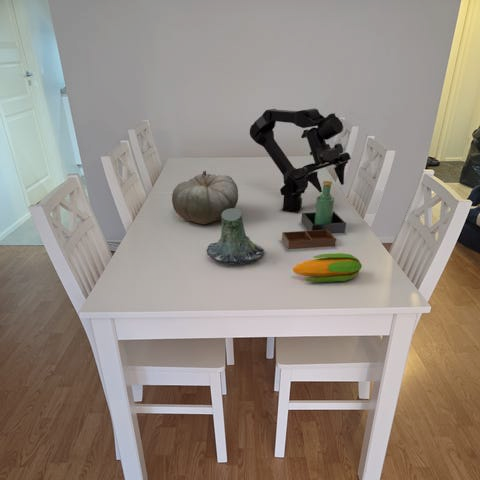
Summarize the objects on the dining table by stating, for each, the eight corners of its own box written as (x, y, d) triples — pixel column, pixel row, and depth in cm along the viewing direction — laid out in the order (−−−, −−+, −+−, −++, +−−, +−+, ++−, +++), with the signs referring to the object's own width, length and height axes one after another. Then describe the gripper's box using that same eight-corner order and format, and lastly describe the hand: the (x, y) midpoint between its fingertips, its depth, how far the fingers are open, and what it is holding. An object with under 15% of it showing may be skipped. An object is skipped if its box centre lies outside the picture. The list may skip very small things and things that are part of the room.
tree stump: (271, 247, 149) (273, 199, 136) (253, 286, 137) (253, 238, 123) (219, 237, 154) (216, 190, 140) (197, 274, 141) (191, 226, 128)
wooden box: (281, 240, 153) (282, 232, 151) (326, 238, 155) (327, 229, 153) (288, 250, 146) (288, 242, 144) (334, 247, 148) (336, 238, 147)
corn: (368, 257, 124) (296, 261, 122) (364, 283, 128) (295, 287, 125) (358, 248, 130) (290, 251, 128) (355, 273, 134) (289, 276, 132)
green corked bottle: (314, 229, 160) (319, 184, 151) (313, 223, 165) (318, 179, 156) (331, 230, 159) (337, 185, 150) (330, 224, 164) (335, 180, 156)
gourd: (252, 205, 175) (245, 161, 164) (224, 237, 158) (214, 191, 147) (197, 202, 185) (187, 160, 174) (165, 232, 169) (152, 188, 158)
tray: (301, 223, 166) (302, 212, 164) (332, 221, 168) (334, 211, 166) (311, 236, 156) (312, 225, 154) (344, 234, 158) (346, 223, 156)
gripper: (305, 144, 149) (320, 190, 151) (352, 130, 154) (366, 174, 156) (291, 155, 159) (305, 198, 161) (335, 141, 164) (349, 183, 166)
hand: (332, 188), depth 161 cm, fingers open, 9 cm apart
